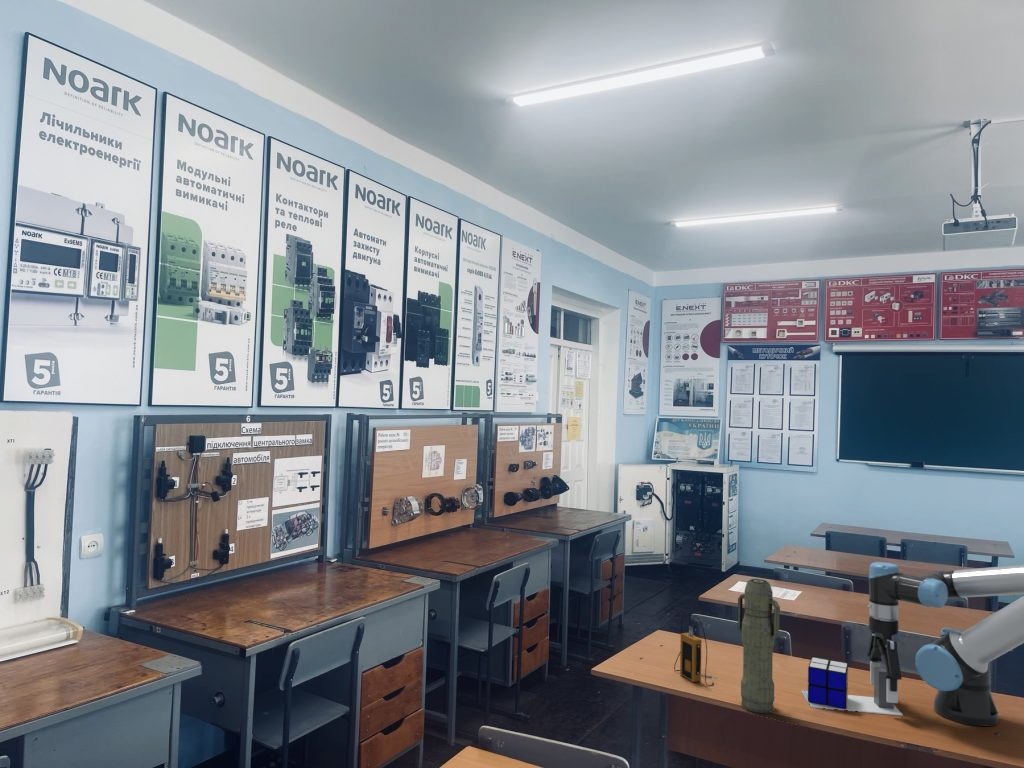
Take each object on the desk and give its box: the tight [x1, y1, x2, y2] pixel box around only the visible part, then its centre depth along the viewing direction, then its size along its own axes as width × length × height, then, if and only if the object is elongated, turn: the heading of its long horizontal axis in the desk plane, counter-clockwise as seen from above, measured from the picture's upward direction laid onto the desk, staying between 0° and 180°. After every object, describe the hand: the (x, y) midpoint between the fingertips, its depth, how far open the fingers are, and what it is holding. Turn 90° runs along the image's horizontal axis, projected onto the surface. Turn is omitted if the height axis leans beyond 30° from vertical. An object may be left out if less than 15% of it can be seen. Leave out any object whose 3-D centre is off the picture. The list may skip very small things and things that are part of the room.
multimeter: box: [673, 611, 718, 687], centre depth 221 cm, size 15×10×20 cm
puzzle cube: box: [807, 657, 849, 709], centre depth 204 cm, size 10×10×10 cm
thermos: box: [737, 578, 781, 714], centre depth 200 cm, size 9×12×35 cm
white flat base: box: [801, 666, 904, 717], centre depth 203 cm, size 24×12×10 cm, turn 80°
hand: (883, 693), depth 202 cm, fingers open, 13 cm apart
